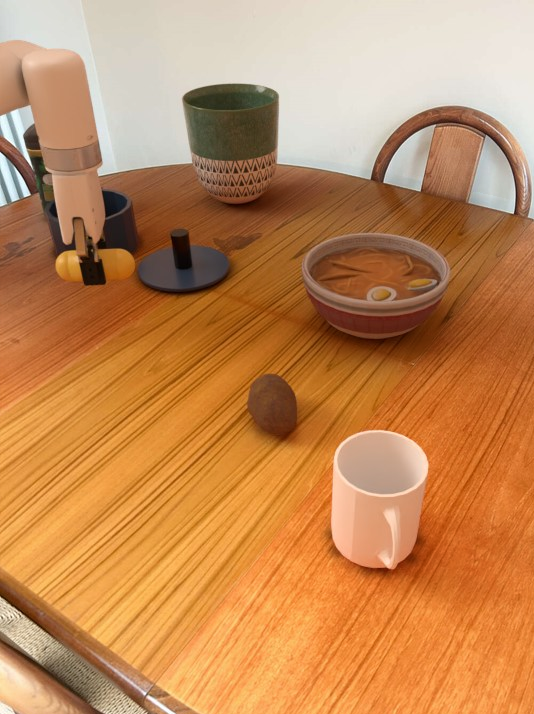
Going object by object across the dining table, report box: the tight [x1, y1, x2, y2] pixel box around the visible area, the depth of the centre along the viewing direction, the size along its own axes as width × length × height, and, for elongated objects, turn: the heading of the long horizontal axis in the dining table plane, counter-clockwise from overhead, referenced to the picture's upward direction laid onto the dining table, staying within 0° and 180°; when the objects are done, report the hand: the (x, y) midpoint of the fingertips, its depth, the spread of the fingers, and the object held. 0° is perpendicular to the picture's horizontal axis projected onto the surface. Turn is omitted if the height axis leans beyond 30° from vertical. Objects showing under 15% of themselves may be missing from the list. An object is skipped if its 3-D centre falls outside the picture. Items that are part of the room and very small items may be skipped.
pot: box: [44, 186, 139, 257], centre depth 125 cm, size 16×21×8 cm
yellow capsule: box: [54, 249, 136, 283], centre depth 98 cm, size 12×5×5 cm, turn 96°
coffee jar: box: [22, 122, 55, 218], centre depth 134 cm, size 10×8×19 cm
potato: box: [246, 373, 298, 436], centre depth 86 cm, size 7×10×6 cm
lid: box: [137, 228, 231, 293], centre depth 118 cm, size 17×17×8 cm
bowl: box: [301, 232, 452, 340], centre depth 104 cm, size 23×23×10 cm
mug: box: [330, 429, 429, 570], centre depth 68 cm, size 10×12×12 cm
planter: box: [181, 82, 280, 205], centre depth 139 cm, size 20×20×21 cm
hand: (97, 274), depth 99 cm, fingers closed on yellow capsule, 4 cm apart
